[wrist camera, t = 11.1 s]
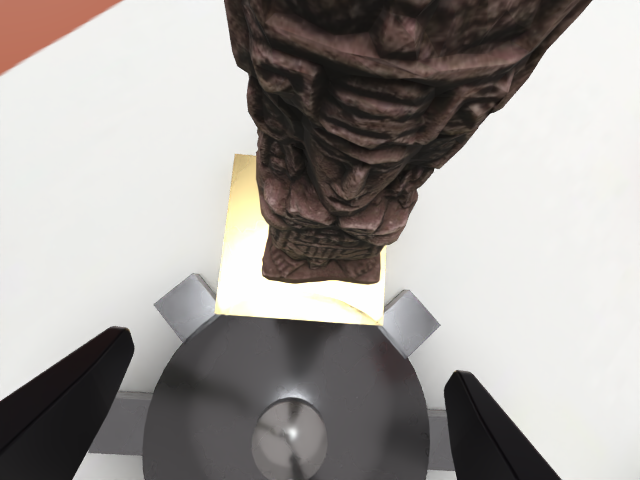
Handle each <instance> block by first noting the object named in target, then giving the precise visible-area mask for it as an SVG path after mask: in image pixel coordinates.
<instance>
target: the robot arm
mask: <svg viewBox="0 0 640 480" xmlns="http://www.w3.org/2000/svg"><path fill="white" fill-rule="evenodd" d="M133 354H134V343H133V340H132V337H131V333H130V330H129V329H128V328H125V327H118V326H112V327H110V328H108V329H106V330H105V331H103V332H102V333H100V334H99V335H97V336H96V337H94V338H93V339H91V340H90V341H89V342H87V343H86V344H84V345H83V346H81V347H80V348H78V349H77V350H75V351H74V352H72V353H71V354H69V355H68V356H66V357H65V358H63V359H62V360H60V361H59V362H57V363H56V364H54V365H53V366H51V367H50V368H49V369H47V370H46V371H44V372H43V373H41V374H40V375H38V376H37V377H35V378H34V379H32V380H31V381H29V382H28V383H26V384H25V385H23V386H22V387H20V388H19V389H17V390H16V391H14V392H13V393H12V394H10V395H9V396H7V397H6V398H4V399H3V400H1V401H0V480H72V479H73V477H74V475H75V473H76V472H77V470H78V468H79V466H80V464H81V462H82V461H83V459H84V457H85V455H86V453H87V451H88V450H89V448H90V446H91V444H92V442H93V440H94V439H95V437H96V435H97V433H98V431H99V429H100V428H101V426H102V424H103V422H104V420H105V418H106V416H107V414H108V413H109V410H110V408H111V406H112V404H113V402H114V399H115V397H116V395H117V392H118V390H119V387H120V385H121V383H122V380H123V378H124V376H125V373H126V371H127V368H128V366H129V364H130V361H131V359H132V357H133ZM444 398H445V406H446V414H447V423H448V431H449V439H450V447H451V453H452V458H453V463H454V468H455V472H456V477H457V480H562V479H561V478H560V477H559V476H558V475H557V474H556V472H555V471H554V470H553V469H552V468H551V466H550V465H549V464H548V463H547V462H546V460H545V459H544V458H543V457H542V456H541V454H540V453H539V452H538V451H537V450H536V449H535V447H534V446H533V445H532V444H531V443H530V441H529V440H528V439H527V438H526V437H525V435H524V434H523V433H522V432H521V431H520V429H519V428H518V427H517V426H516V425H515V424H514V422H513V421H512V420H511V419H510V418H509V416H508V415H507V414H506V413H505V412H504V410H503V409H502V408H501V407H500V406H499V404H498V403H497V402H496V401H495V400H494V399H493V397H492V396H491V395H490V394H489V393H488V391H487V390H486V389H485V388H484V387H483V385H482V384H481V383H480V382H479V381H478V379H477V378H476V377H475V376H474V375H473V374H472V373H471V372H468V371H461V370H456V371H454V372H453V374H452V376H451V377H450V379H449V380H448V382H447V384H446V385H445V388H444Z"/></svg>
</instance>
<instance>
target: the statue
mask: <svg viewBox="0 0 640 480" xmlns="http://www.w3.org/2000/svg"><path fill="white" fill-rule="evenodd" d="M591 1H592V0H224V3H225V9H226V15H227V21H228V27H229V34H230V40H231V47H232V52H233V55H234V58H235V61H236V64H237V66H238V67H239V68H241V69H242V70H244V71H246V72H247V73H248V75H249V82H248V89H247V105H248V112H249V114H250V116H251V117H252V119H253V121H254V123H255V124H256V126H257V128H258V130H257V133H258V136H259V138H258V143H257V146H258V151H257V152H256V181H257V186H258V192H259V200H260V210H261V214H262V216H263V218H264V219H265V221H266V223H267V224H268V225H269V229H268V238H267V241H266V244H265V249H264V254H263V257H262V268H261V272H262V276H263V277H264V278H266V279H267V280H270V281H279V282H283V283H291V284H301V283H312V282H323V281H328V280H331V281H335V280H337V281H342V282H351V283H358V284H366V285H370V284H377V283H378V282H379V281H380V273H381V255H380V252H381V251H382V249H383V248H384V247H385V245H390V244H392V243H393V242H395V241H397V239H398V237H399V236H400V234H401V232H402V231H403V229H404V227H405V226H406V223H407V220H408V217H409V214H410V213H411V211H412V209H413V207H414V205H415V203H416V202H417V199H418V193H417V188H419V187H421V186H422V185H423V184H424V183H425V181H426V180H427V179H428V178H429V177H430V176H431V174H432V173H433V172H434V168H436V169H440V168H441V167H442V166H443V165H444V164H445V163H446V162H447V161H448V160H449V159H451V158H452V157H453V156H454V155H455V154H456V153H457V152H458V151H459V150H460V149H461V148H462V147H463V146H464V145H465V144H466V143H467V141H468V140H469V139H470V138H471V136H472V135H473V134H474V133H475V131H476V130H477V129H478V127H479V125H480V124H481V123H482V122H483V121H484V120H485V119H486V118H487V116H488V115H489V114H490V113H494V112H496V111H498V110H500V109H502V108H503V107H504V106H505V104H506V103H507V102H508V101H509V100H510V99H511V98H512V96H513V95H514V94H515V93H516V92H517V91H518V90H519V88H520V87H521V86H522V85H523V84H524V83H525V82H526V80H527V79H528V78H529V76H530V75H531V73H532V72H533V70H534V69H535V67H536V66H537V64H538V63H539V61H540V59H541V58H542V56H543V55H544V53H545V52H546V50H547V49H548V48H549V47H550V46H551V45H552V44H553V43H554V42H555V41H556V40H557V39H558V37H559V36H560V35H561V34H562V33H563V32H564V31H565V30H566V29H567V28H568V27H569V26H570V25H571V24H572V23H573V22H574V21H575V20H576V19H577V17H578V16H579V15H580V14H581V13H582V12H583V11H584V10H585V8H586V7H587V6H588V5H589V4H590V2H591Z"/></svg>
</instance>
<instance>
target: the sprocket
mask: <svg viewBox="0 0 640 480" xmlns="http://www.w3.org/2000/svg"><path fill="white" fill-rule="evenodd" d="M268 229H269V225H268V224H267V223H266V221H265V219H264V218H263V216H262V214H261V210H260V200H259V192H258V186H257V181H256V156H252V155H242V154H235V157H234V165H233V172H232V180H231V188H230V196H229V204H228V212H227V220H226V228H225V236H224V243H223V251H222V259H221V267H220V275H219V283H218V291H217V296H216V295H215V294H214V292H213V291H212V290H211V289H210V288H209V286H208V285H207V284H206V283H205V281H204V280H203V279H202V278H201V276H200V275H199V274H194V273H192V274H191V275H190V276H189V277H187V278H186V279H185V280H184V281H182V282H181V283H180V284H179V285H177V286H176V287H175V288H174V289H172V290H171V291H170V292H169V293H167V294H166V295H165V296H164V297H162V298H161V299H160V300H159V301H157V302H156V303H155V304H154V306H155V307H156V308H157V310H158V311H159V312H160V314H161V315H162V316H163V317H164V319H165V320H166V321H167V322H168V324H169V325H170V326H171V328H172V329H173V330H174V331H175V333H176V334H177V335H178V336H179V338H180V339H181V340H182V341H183V344H182V345H181V346H180V347H179V348H178V350H177V351H176V352H175V354H174V355H173V357H172V358H171V360H170V361H169V363H168V364H167V366H166V367H165V369H164V371H163V373H162V375H161V377H160V379H159V381H158V383H157V385H156V387H155V390H154V393H139V392H121V391H118V392H117V395H116V397H115V399H114V402H113V404H112V406H111V408H110V410H109V413H108V414H107V416H106V418H105V420H104V422H103V424H102V426H101V428H100V429H99V431H98V433H97V435H96V437H95V439H94V440H93V442H92V444H91V446H90V448H89V452H88V453H101V454H121V455H142V456H143V473H144V479H145V480H426V474H427V470H447V471H455V468H454V463H453V458H452V453H451V447H450V439H449V431H448V423H447V414H446V410H429V409H427V406H426V401H425V398H424V394H423V391H422V388H421V384H420V382H419V380H418V377H417V375H416V373H415V370H414V368H413V366H412V365H411V363H410V361H409V359H408V358H407V357H408V356H410V355H411V354H412V353H413V352H414V351H415V350H416V349H417V348H418V347H419V346H420V345H421V344H422V343H423V342H424V341H425V340H426V339H427V338H428V337H429V336H430V335H431V334H432V333H433V332H434V331H435V330H436V329H437V328H438V327H439V326H440V324H439V323H438V322H437V320H436V319H435V318H434V317H433V316H432V315H431V314H430V313H429V311H428V310H427V309H426V308H425V307H424V306H423V305H422V303H421V302H420V301H419V300H418V299H417V298H416V297H415V296H414V294H413V293H412V292H411V291H410V290H403V291H402V292H401V293H400V294H399V295H398V296H397V297H395V298H394V299H393V300H392V301H391V302H390V303H389V304H388V305H387V306H386V307H385V308H384V285H385V259H386V245H385V247H384V248H383V249H382V251H381V252H380V255H381V273H380V281H379V282H378V283H377V284H370V285H366V284H358V283H351V282H342V281H337V280H335V281H331V280H328V281H323V282H312V283H301V284H291V283H283V282H279V281H270V280H267V279H266V278H264V277H263V276H262V272H261V268H262V257H263V254H264V249H265V244H266V241H267V238H268Z"/></svg>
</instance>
